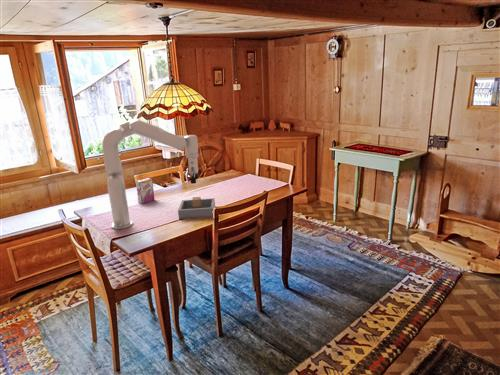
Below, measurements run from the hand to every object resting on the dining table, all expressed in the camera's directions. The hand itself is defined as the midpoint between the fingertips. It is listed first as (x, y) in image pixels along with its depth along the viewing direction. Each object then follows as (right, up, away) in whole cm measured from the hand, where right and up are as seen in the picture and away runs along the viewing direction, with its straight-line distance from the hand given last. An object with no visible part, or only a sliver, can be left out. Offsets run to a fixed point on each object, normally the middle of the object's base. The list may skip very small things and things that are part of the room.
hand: (194, 181), depth 230 cm
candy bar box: (-40, -14, +35) cm, 55 cm away
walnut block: (+1, -20, +6) cm, 21 cm away
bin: (+1, -20, +6) cm, 22 cm away
